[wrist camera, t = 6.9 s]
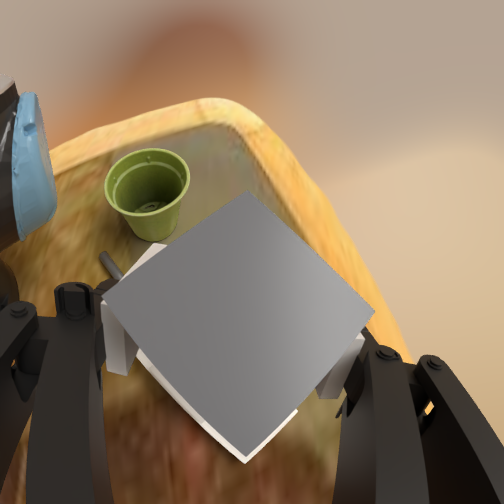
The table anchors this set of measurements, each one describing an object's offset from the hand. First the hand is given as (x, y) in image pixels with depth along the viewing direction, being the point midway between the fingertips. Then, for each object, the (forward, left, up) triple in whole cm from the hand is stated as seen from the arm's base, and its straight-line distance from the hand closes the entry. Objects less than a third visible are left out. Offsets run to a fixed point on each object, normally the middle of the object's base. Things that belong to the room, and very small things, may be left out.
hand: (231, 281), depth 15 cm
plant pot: (-16, +4, -19) cm, 25 cm away
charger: (+2, -3, -3) cm, 4 cm away
